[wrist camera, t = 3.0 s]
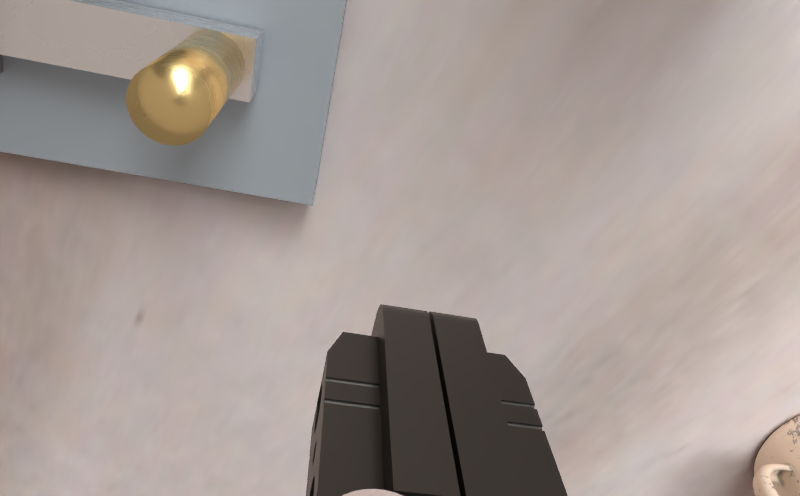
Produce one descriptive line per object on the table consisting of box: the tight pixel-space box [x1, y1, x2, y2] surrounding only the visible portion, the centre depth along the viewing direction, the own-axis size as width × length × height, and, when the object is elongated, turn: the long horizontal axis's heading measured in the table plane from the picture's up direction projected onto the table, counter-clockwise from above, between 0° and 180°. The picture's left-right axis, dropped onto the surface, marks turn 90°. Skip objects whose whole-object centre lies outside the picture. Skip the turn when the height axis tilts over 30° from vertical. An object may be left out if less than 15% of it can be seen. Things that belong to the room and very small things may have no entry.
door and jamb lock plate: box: [0, 0, 346, 205], centre depth 24 cm, size 22×12×6 cm, turn 78°
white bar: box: [0, 0, 264, 146], centre depth 21 cm, size 10×2×8 cm, turn 78°
